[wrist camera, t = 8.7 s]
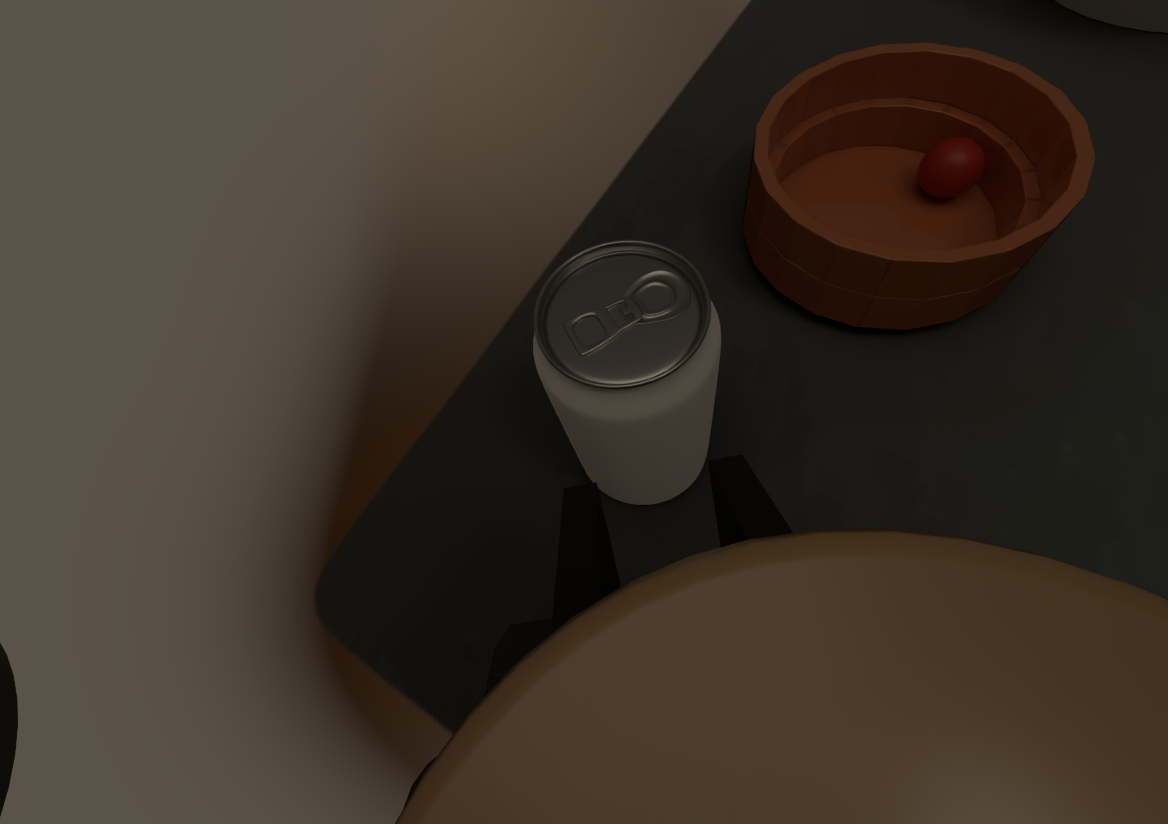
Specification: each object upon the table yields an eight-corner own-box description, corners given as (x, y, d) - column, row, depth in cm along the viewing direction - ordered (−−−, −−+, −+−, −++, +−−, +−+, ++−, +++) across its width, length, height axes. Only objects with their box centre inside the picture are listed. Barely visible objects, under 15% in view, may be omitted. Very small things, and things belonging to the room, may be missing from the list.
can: (733, 468, 26) (769, 335, 16) (616, 531, 26) (573, 439, 15) (666, 369, 29) (658, 200, 19) (560, 425, 29) (490, 284, 18)
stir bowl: (696, 206, 34) (700, 120, 28) (895, 109, 35) (935, 7, 29) (843, 383, 27) (882, 315, 22) (1082, 260, 28) (1177, 165, 23)
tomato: (897, 185, 31) (918, 140, 28) (942, 163, 31) (966, 115, 29) (934, 218, 30) (959, 174, 27) (980, 194, 30) (1010, 148, 27)
